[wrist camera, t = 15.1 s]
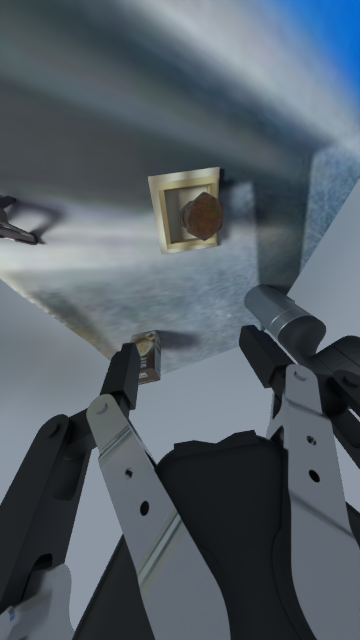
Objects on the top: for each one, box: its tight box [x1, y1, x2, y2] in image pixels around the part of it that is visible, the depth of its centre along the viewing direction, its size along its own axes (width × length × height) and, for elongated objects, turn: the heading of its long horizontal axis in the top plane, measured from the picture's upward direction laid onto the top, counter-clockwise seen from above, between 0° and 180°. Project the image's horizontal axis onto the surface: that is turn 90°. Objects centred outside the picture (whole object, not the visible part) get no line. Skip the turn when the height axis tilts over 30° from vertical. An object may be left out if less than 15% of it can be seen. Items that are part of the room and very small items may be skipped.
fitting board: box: [148, 167, 219, 254], centre depth 32 cm, size 14×14×5 cm
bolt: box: [180, 192, 223, 241], centre depth 26 cm, size 6×5×15 cm
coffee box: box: [130, 330, 161, 385], centre depth 47 cm, size 9×6×16 cm
